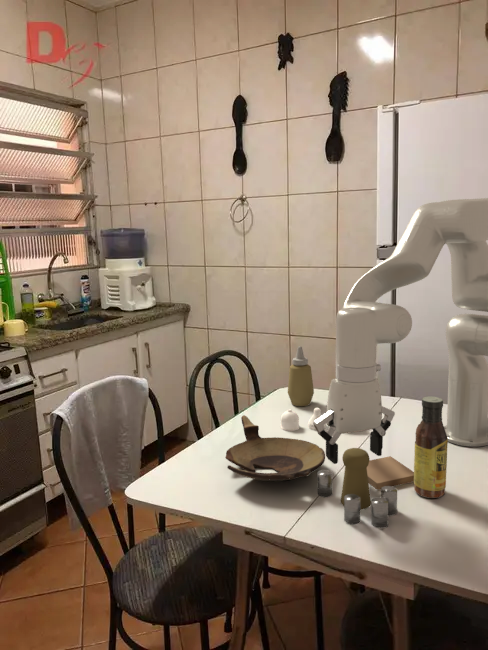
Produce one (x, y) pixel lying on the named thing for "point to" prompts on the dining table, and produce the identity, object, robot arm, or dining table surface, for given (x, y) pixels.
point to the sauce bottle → (430, 451)
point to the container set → (297, 420)
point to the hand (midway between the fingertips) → (354, 457)
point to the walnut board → (388, 473)
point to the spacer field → (353, 502)
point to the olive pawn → (356, 476)
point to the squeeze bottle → (300, 380)
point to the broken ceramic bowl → (273, 456)
